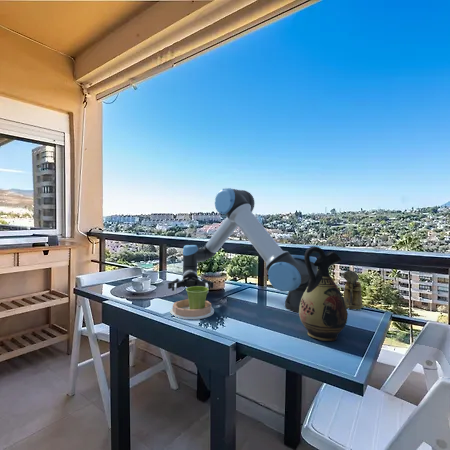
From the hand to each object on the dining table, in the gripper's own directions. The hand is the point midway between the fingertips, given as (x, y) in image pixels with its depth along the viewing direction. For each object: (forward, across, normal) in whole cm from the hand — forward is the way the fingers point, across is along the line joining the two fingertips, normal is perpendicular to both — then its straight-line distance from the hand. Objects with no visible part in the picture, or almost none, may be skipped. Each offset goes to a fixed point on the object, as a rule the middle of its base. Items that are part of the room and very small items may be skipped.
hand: (191, 289), depth 123 cm
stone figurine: (+5, -70, -8) cm, 71 cm away
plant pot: (+3, -2, -8) cm, 9 cm away
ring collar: (+3, 0, -8) cm, 9 cm away
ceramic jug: (+31, -42, -8) cm, 53 cm away
